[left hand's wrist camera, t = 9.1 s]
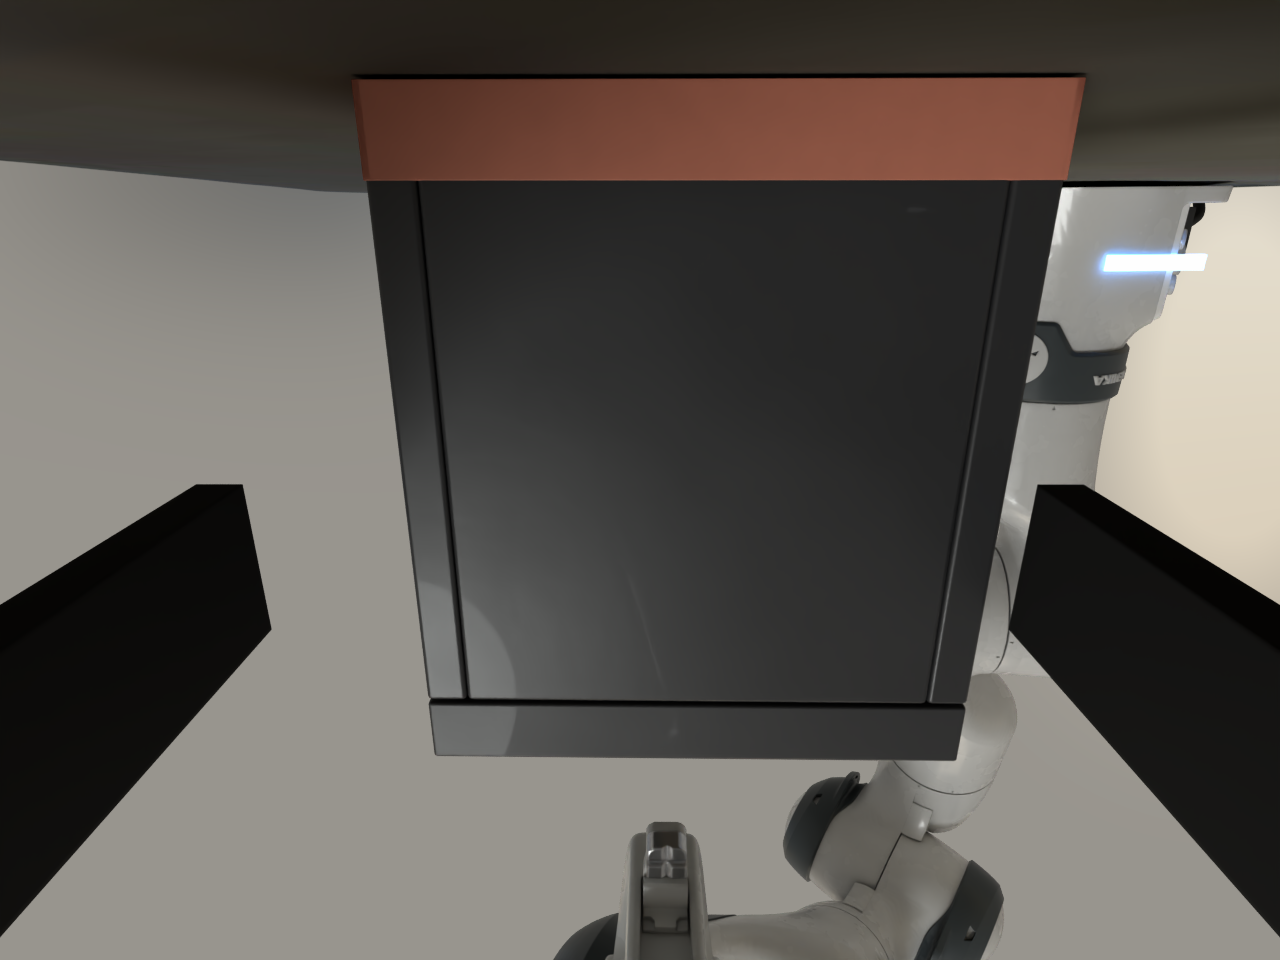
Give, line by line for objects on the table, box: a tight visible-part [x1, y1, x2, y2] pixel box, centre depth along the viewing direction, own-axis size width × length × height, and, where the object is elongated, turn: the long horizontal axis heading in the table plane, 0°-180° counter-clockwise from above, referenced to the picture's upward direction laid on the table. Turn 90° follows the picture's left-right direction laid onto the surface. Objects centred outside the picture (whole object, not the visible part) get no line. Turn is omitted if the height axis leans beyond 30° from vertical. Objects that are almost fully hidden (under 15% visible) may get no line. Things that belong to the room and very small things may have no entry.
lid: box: [429, 695, 966, 761], centre depth 21 cm, size 12×10×8 cm
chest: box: [351, 77, 1086, 704], centre depth 17 cm, size 11×10×10 cm
